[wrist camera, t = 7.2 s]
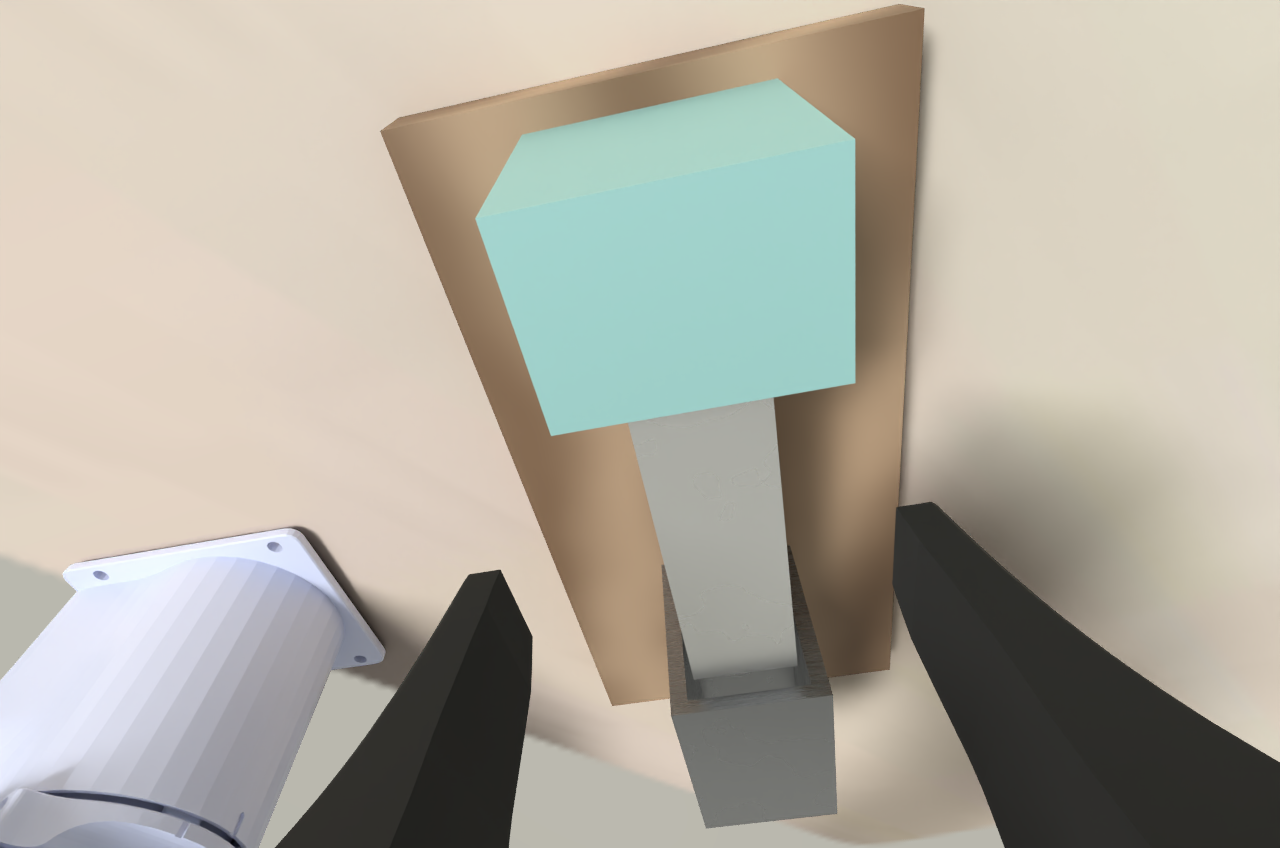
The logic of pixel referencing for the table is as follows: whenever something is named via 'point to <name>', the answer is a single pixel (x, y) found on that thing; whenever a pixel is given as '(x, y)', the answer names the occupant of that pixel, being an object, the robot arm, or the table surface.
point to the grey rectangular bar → (722, 533)
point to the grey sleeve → (756, 729)
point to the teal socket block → (678, 256)
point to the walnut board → (805, 422)
